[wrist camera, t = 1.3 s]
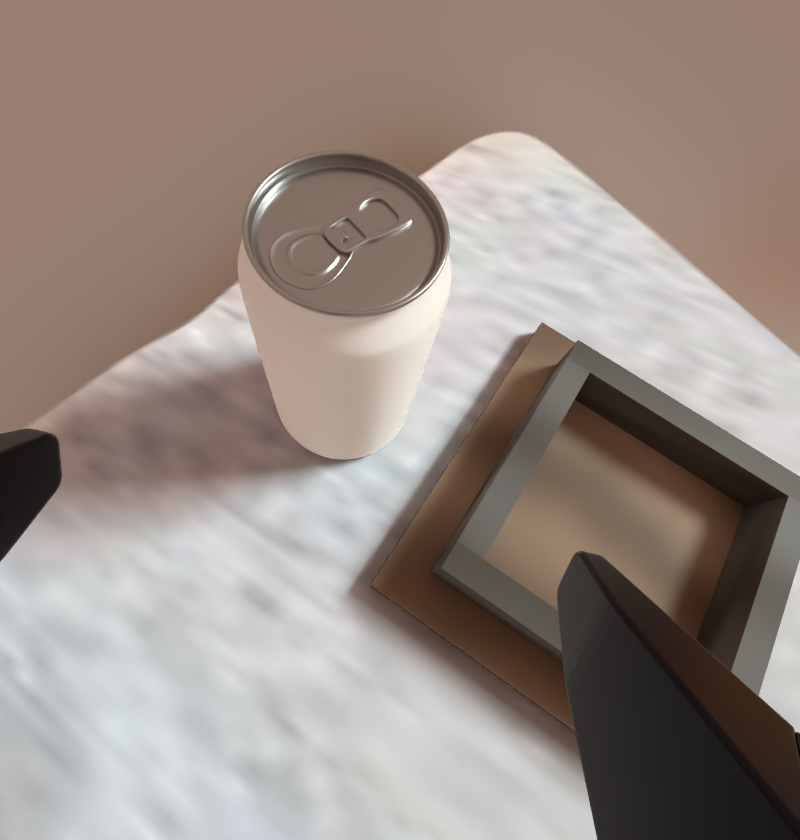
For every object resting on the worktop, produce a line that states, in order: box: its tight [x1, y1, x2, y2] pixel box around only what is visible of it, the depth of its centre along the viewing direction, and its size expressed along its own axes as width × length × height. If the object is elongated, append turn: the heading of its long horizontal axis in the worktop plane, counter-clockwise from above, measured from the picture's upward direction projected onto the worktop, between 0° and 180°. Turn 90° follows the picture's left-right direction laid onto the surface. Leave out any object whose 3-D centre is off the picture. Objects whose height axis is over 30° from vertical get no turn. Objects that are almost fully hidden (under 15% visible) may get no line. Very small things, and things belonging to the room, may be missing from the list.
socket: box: [370, 323, 800, 732], centre depth 22 cm, size 16×16×4 cm
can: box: [238, 150, 452, 459], centre depth 19 cm, size 6×6×12 cm
